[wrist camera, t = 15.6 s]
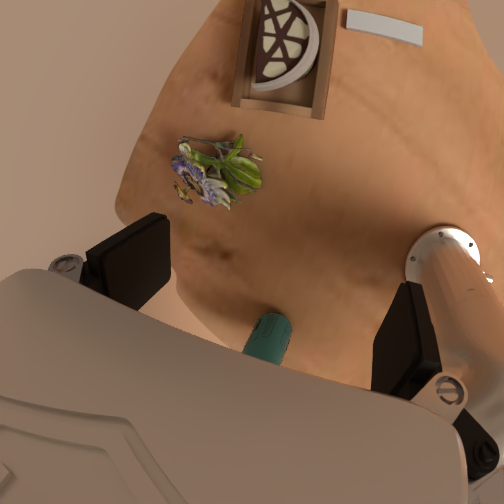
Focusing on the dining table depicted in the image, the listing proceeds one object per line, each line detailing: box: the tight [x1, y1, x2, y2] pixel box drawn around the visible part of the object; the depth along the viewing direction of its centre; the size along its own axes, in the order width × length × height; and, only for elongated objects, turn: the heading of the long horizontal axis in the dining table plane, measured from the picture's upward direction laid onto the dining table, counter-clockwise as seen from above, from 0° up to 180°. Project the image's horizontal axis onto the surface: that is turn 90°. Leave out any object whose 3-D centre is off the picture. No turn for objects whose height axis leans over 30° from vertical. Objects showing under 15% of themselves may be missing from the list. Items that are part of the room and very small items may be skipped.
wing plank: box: [346, 9, 423, 48], centre depth 25 cm, size 10×3×2 cm, turn 84°
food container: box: [251, 0, 319, 91], centre depth 26 cm, size 12×6×10 cm, turn 176°
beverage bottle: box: [242, 313, 292, 365], centre depth 43 cm, size 6×7×20 cm
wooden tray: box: [231, 0, 339, 120], centre depth 30 cm, size 11×17×4 cm, turn 173°
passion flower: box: [171, 134, 263, 210], centre depth 39 cm, size 11×11×12 cm
